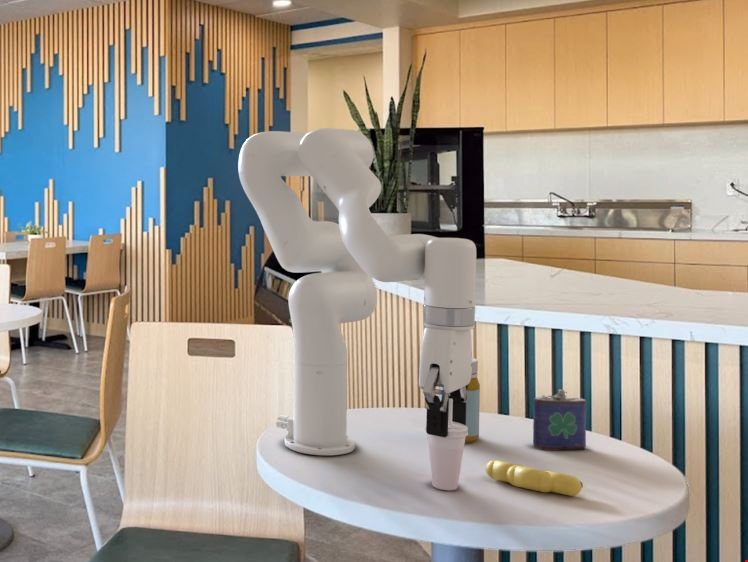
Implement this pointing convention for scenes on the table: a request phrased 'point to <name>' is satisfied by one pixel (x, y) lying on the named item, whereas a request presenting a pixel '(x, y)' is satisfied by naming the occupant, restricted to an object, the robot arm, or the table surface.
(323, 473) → the table surface
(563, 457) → the table surface
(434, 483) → the smoothie
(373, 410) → the table surface
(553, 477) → the yellow lumpy bar
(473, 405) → the bottle
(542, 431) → the flask
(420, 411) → the table surface
